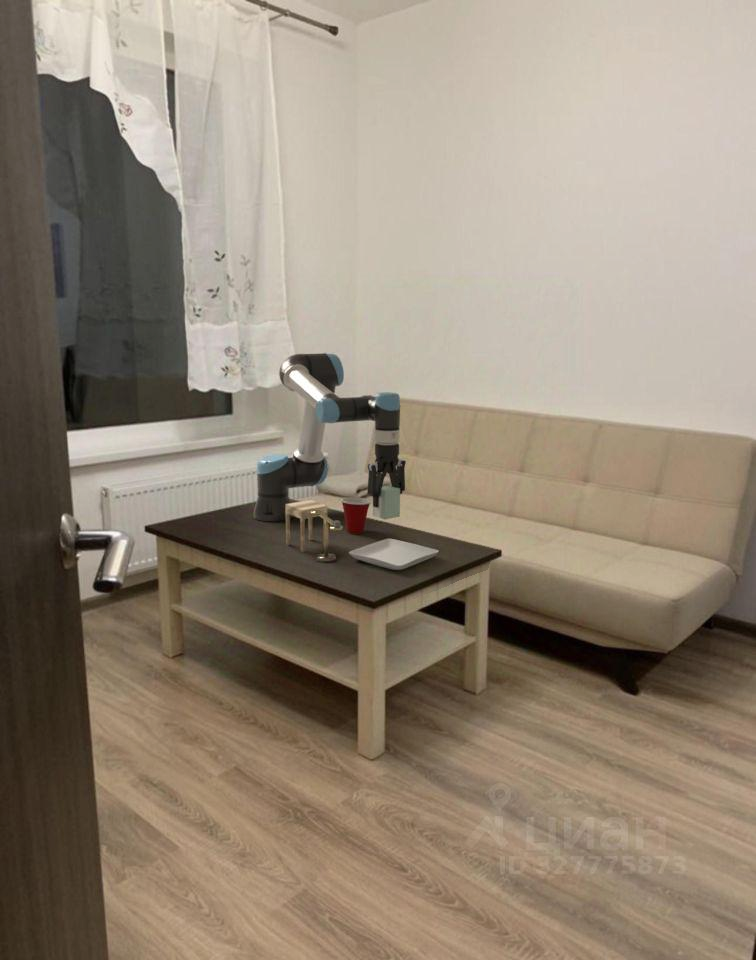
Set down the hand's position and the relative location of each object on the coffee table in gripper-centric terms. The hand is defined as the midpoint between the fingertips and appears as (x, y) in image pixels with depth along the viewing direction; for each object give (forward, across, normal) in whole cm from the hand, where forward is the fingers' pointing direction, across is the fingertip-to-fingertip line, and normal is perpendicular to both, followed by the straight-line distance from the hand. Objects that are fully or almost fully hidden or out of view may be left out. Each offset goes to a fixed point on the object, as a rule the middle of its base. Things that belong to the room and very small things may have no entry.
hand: (386, 515), depth 238 cm
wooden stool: (+14, -13, +26) cm, 32 cm away
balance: (+14, -16, +10) cm, 24 cm away
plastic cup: (+14, +10, +29) cm, 34 cm away
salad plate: (+15, +1, -3) cm, 15 cm away
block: (0, 0, 0) cm, 0 cm away
